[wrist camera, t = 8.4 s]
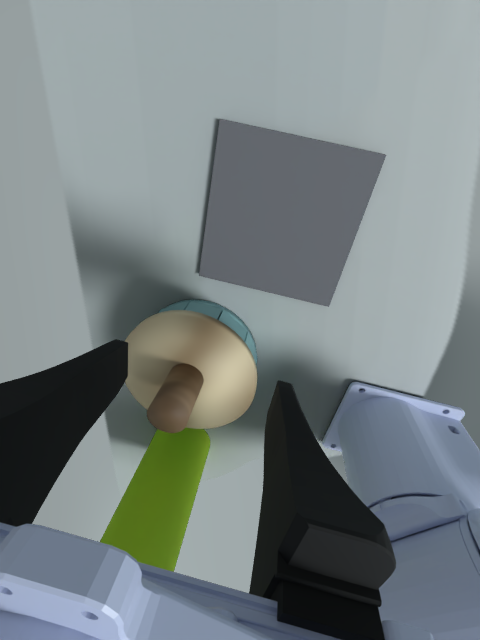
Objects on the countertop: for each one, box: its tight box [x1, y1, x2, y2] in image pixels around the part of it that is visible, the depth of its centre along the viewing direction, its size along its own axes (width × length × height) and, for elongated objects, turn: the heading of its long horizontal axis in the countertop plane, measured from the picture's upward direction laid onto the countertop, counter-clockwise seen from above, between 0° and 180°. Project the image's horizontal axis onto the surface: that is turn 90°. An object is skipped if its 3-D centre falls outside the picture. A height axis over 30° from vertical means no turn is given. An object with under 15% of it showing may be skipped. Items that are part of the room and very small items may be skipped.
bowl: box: [158, 299, 258, 365], centre depth 24 cm, size 10×10×4 cm
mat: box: [199, 119, 386, 307], centre depth 20 cm, size 10×10×1 cm
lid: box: [125, 310, 257, 433], centre depth 20 cm, size 10×10×5 cm
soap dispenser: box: [100, 427, 210, 572], centre depth 23 cm, size 6×7×20 cm
